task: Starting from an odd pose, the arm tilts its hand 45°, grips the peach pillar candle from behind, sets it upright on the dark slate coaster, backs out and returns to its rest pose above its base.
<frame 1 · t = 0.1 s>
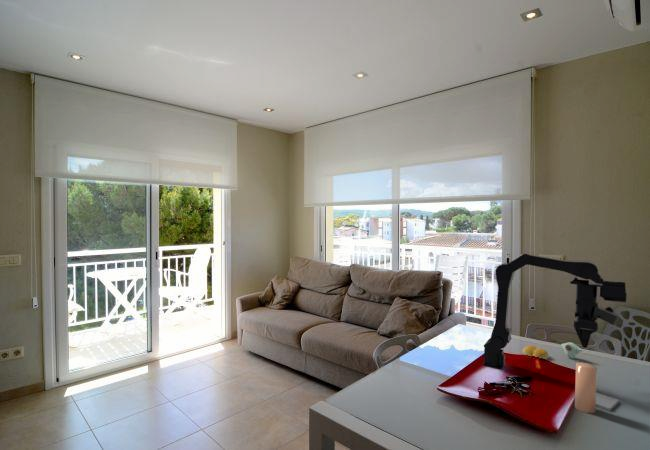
hand: (584, 343, 120), 15 cm above the table, tool pointing down, fingers open, 9 cm apart
slate coaster: (596, 400, 111), on the table
pale green rounded piece: (570, 359, 146), on the table
peach pillar candle: (584, 408, 106), on the table
bread roll: (535, 356, 148), on the table
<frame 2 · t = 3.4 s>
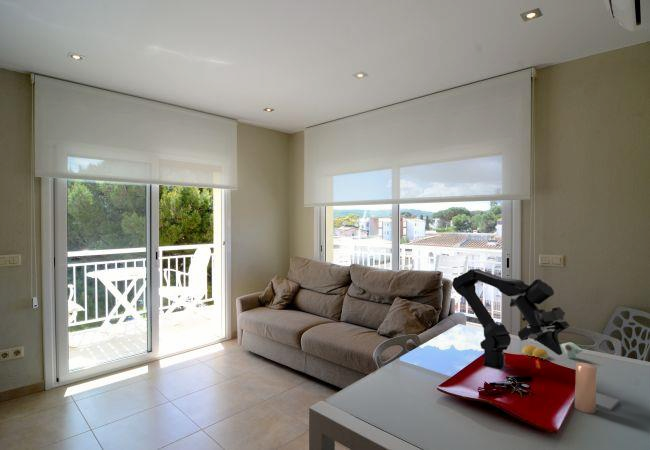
hand: (560, 354, 113), 13 cm above the table, tool tilted 45°, fingers closed
nothing on the table moved.
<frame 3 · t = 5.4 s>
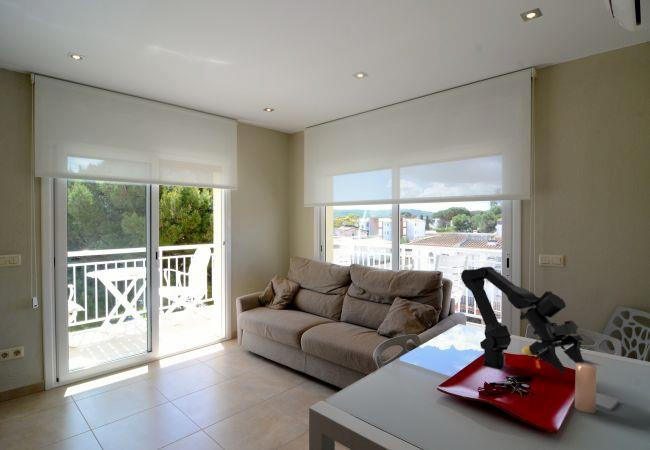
hand: (574, 370, 109), 10 cm above the table, tool tilted 45°, fingers open, 9 cm apart
nothing on the table moved.
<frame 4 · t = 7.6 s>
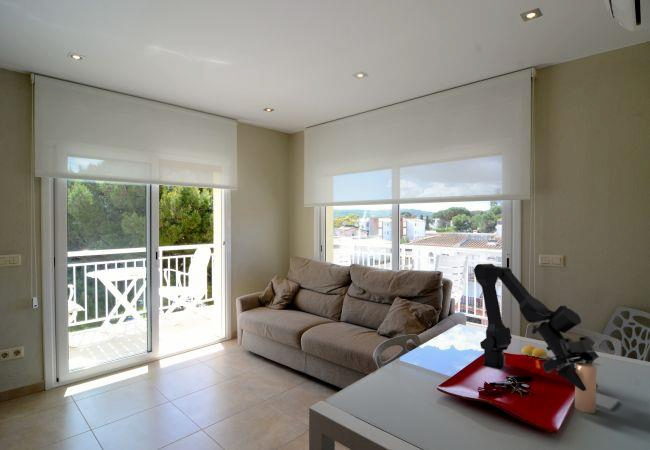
hand: (590, 389, 104), 7 cm above the table, tool tilted 45°, fingers closed on peach pillar candle, 5 cm apart
peach pillar candle: (584, 408, 106), on the table, touching gripper
everything else where it was.
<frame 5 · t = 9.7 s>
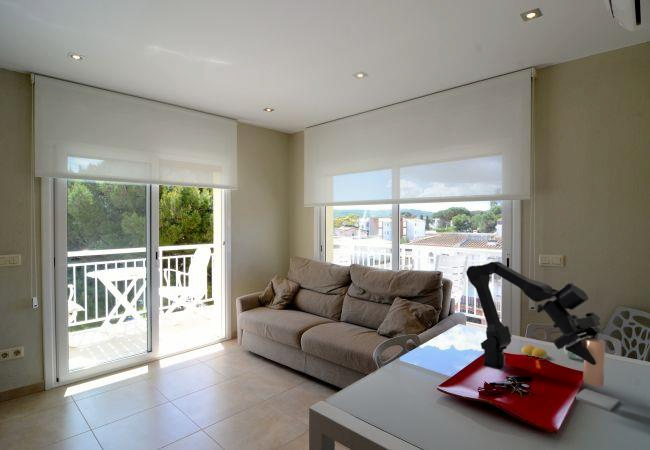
hand: (599, 362, 107), 13 cm above the table, tool tilted 45°, fingers closed on peach pillar candle, 5 cm apart
peach pillar candle: (593, 382, 108), point 7 cm above the table, touching gripper
everything else where it was.
when the fingers open (8 cm above the table, at t = 11.9 s): peach pillar candle stays where it is, resting on slate coaster.
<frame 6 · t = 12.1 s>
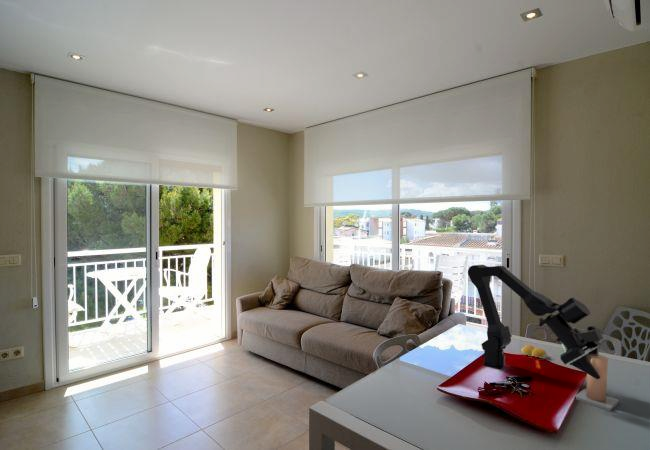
hand: (602, 375, 110), 8 cm above the table, tool tilted 45°, fingers open, 7 cm apart
peach pillar candle: (596, 397, 111), point 1 cm above the table, touching slate coaster
everything else where it was.
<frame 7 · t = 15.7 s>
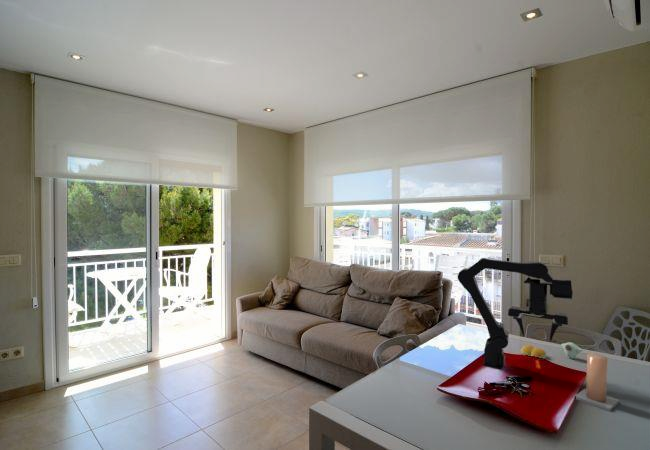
hand: (537, 338, 130), 13 cm above the table, tool pointing down, fingers open, 8 cm apart
nothing on the table moved.
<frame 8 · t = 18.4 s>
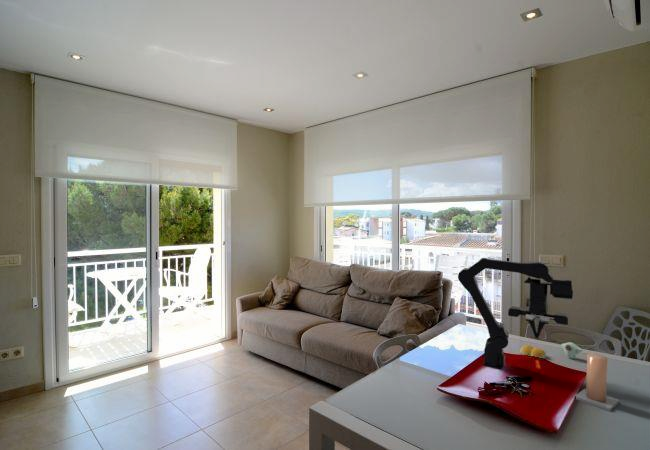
hand: (536, 338, 130), 13 cm above the table, tool pointing down, fingers closed
nothing on the table moved.
at the end: peach pillar candle 0.1 cm off-centre on the slate coaster, point 0.8 cm above the slate coaster's base; peach pillar candle tilted 0°; the gripper is holding nothing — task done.
